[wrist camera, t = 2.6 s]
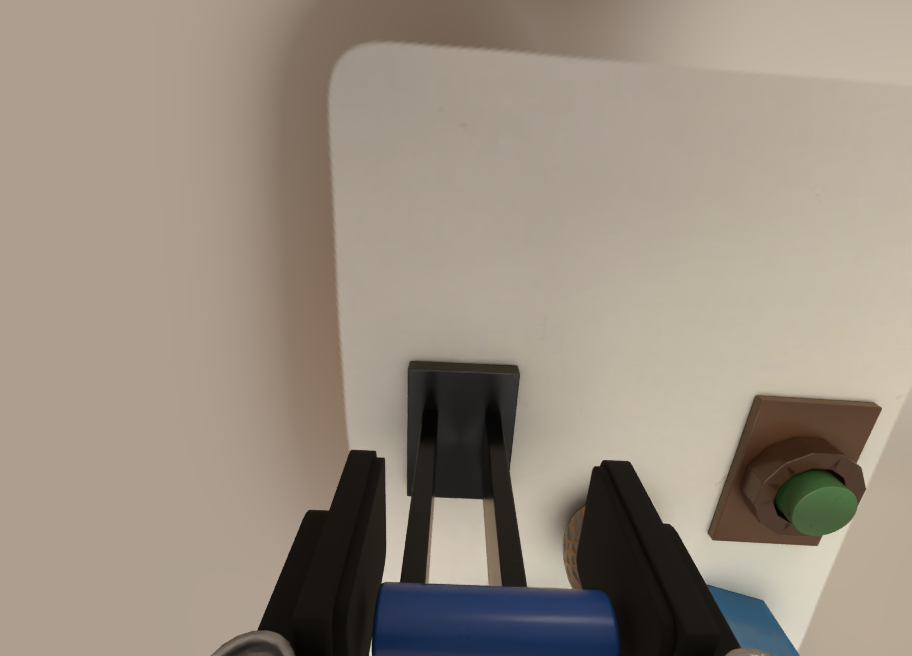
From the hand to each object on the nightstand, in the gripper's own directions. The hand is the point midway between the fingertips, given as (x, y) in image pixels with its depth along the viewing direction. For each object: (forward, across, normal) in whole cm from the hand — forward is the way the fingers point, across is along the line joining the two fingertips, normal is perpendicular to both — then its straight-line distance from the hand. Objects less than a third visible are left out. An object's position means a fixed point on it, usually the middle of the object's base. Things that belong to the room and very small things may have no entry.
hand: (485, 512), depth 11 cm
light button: (+17, -23, +13) cm, 32 cm away
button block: (+19, -23, +13) cm, 33 cm away
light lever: (+1, 0, +5) cm, 5 cm away
